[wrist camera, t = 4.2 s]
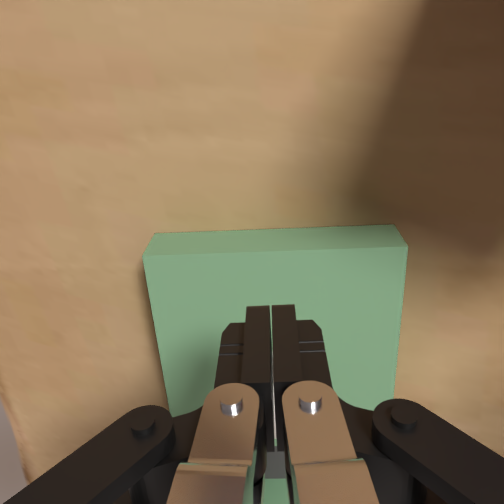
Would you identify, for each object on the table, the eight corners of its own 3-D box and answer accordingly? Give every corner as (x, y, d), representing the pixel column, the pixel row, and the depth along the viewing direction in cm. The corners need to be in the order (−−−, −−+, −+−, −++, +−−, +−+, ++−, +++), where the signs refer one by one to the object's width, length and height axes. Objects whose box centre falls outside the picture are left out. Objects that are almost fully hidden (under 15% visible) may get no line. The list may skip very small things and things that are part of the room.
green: (155, 233, 23) (70, 381, 14) (393, 224, 23) (488, 373, 13) (199, 513, 33) (169, 722, 23) (370, 512, 32) (414, 727, 22)
